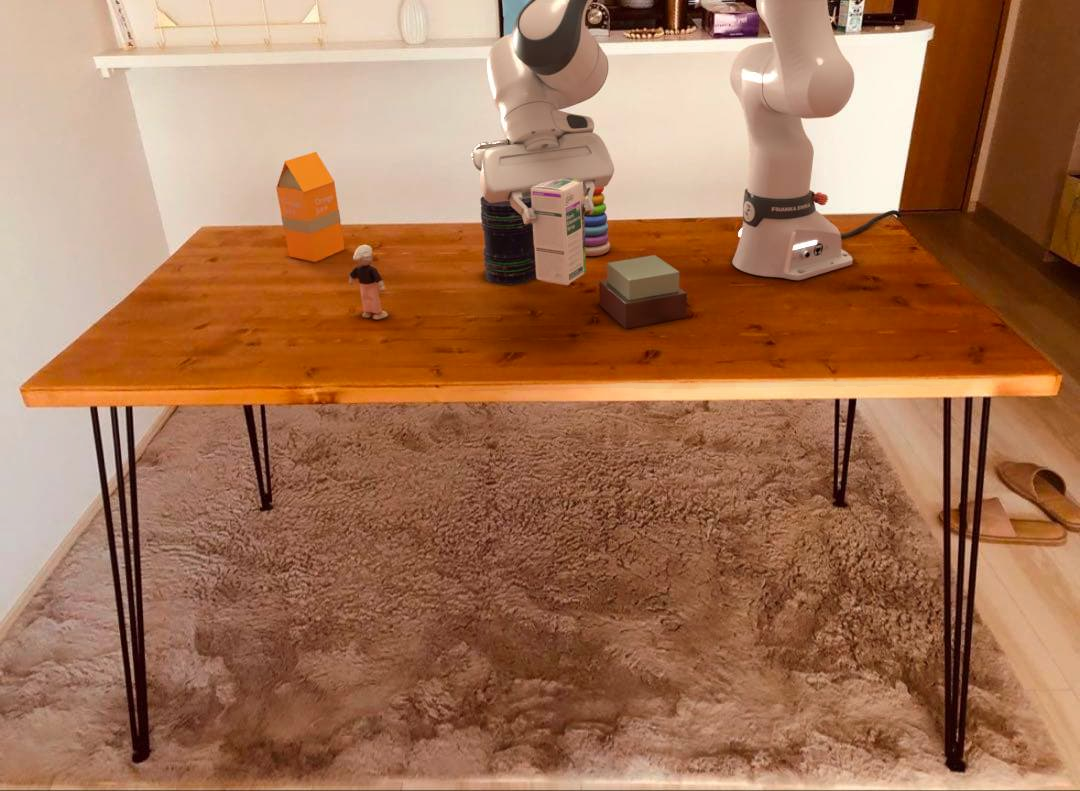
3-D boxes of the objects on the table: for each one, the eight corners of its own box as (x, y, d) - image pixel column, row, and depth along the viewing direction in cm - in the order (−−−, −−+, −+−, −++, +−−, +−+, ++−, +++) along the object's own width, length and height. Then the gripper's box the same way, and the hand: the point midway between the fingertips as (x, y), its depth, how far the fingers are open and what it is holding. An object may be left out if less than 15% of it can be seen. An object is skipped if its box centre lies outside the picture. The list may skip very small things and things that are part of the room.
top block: (654, 274, 147) (654, 254, 146) (678, 291, 140) (679, 271, 138) (606, 282, 145) (606, 262, 143) (629, 300, 137) (629, 280, 136)
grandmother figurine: (397, 313, 148) (388, 243, 142) (387, 321, 145) (377, 250, 139) (358, 308, 150) (348, 240, 144) (347, 317, 147) (336, 247, 141)
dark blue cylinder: (524, 262, 168) (520, 187, 160) (545, 278, 160) (542, 200, 153) (477, 272, 164) (471, 195, 157) (497, 288, 156) (491, 208, 149)
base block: (656, 295, 151) (656, 271, 148) (685, 317, 142) (687, 292, 139) (599, 305, 148) (599, 281, 145) (625, 329, 138) (626, 303, 136)
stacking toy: (607, 258, 168) (607, 163, 159) (567, 257, 170) (565, 162, 161) (612, 245, 175) (613, 153, 166) (574, 244, 176) (572, 153, 167)
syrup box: (568, 286, 126) (565, 189, 119) (534, 279, 129) (529, 185, 122) (586, 273, 130) (585, 179, 123) (554, 267, 133) (550, 175, 126)
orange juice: (288, 256, 176) (270, 159, 166) (318, 243, 183) (302, 149, 173) (315, 262, 172) (298, 163, 163) (345, 249, 179) (331, 153, 169)
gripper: (471, 132, 122) (496, 216, 119) (602, 116, 127) (629, 196, 124) (465, 156, 128) (489, 238, 124) (590, 140, 133) (616, 218, 130)
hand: (560, 217), depth 124 cm, fingers closed on syrup box, 8 cm apart
